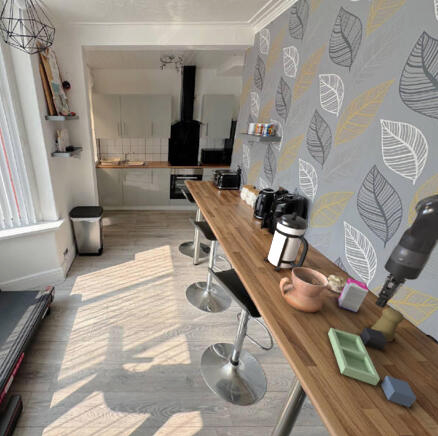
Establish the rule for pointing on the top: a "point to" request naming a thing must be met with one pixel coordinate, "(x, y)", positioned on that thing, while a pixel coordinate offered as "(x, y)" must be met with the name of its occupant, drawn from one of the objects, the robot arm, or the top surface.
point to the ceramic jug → (304, 289)
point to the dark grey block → (373, 338)
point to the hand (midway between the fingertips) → (383, 300)
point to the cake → (336, 283)
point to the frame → (353, 356)
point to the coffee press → (288, 242)
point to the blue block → (398, 391)
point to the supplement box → (353, 295)
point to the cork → (388, 323)
